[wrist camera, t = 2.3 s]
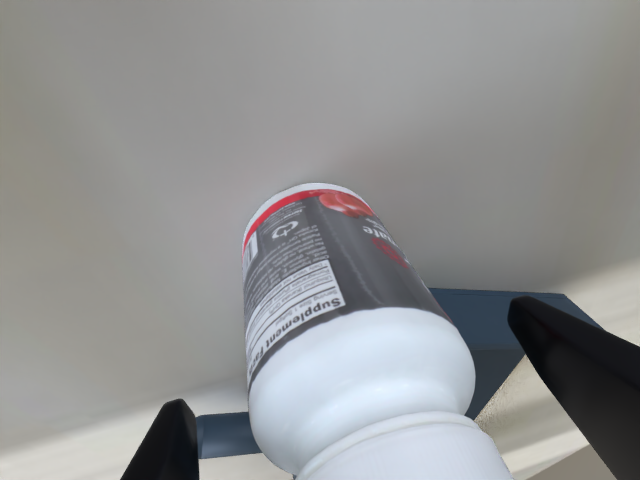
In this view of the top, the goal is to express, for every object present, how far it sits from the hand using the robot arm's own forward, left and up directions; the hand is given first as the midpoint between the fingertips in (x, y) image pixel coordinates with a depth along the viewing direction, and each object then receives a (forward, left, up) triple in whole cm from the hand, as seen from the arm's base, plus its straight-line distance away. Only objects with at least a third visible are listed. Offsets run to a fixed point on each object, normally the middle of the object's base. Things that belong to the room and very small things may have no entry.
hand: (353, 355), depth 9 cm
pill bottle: (0, 0, -6) cm, 6 cm away
